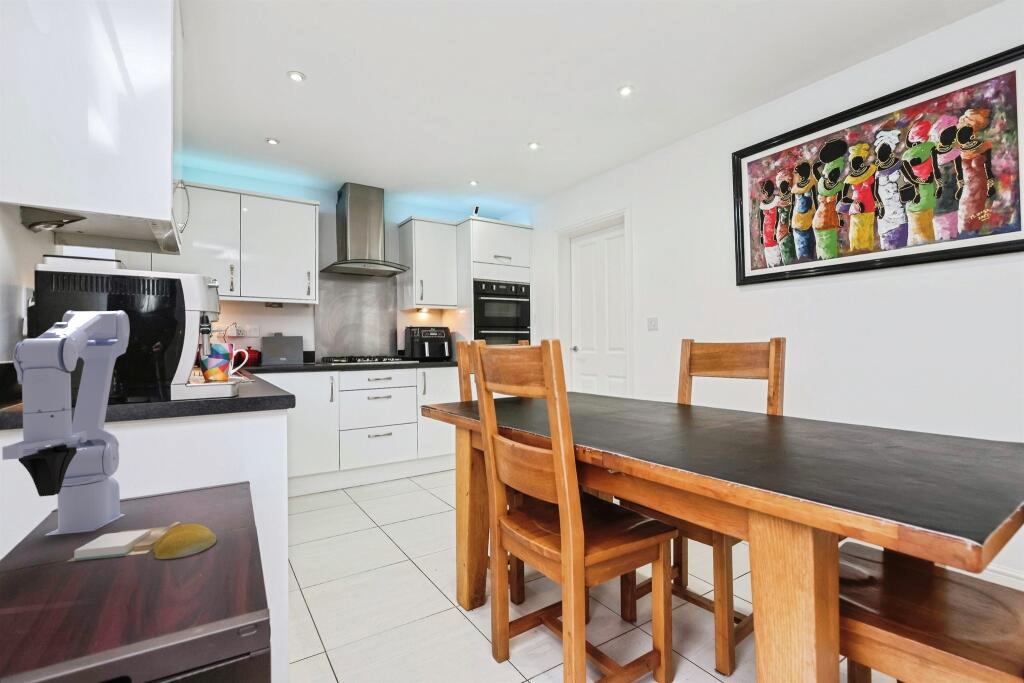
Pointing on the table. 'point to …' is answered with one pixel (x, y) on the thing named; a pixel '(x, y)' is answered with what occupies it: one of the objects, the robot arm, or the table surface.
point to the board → (153, 530)
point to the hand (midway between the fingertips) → (49, 494)
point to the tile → (111, 545)
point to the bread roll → (183, 541)
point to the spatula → (153, 538)
